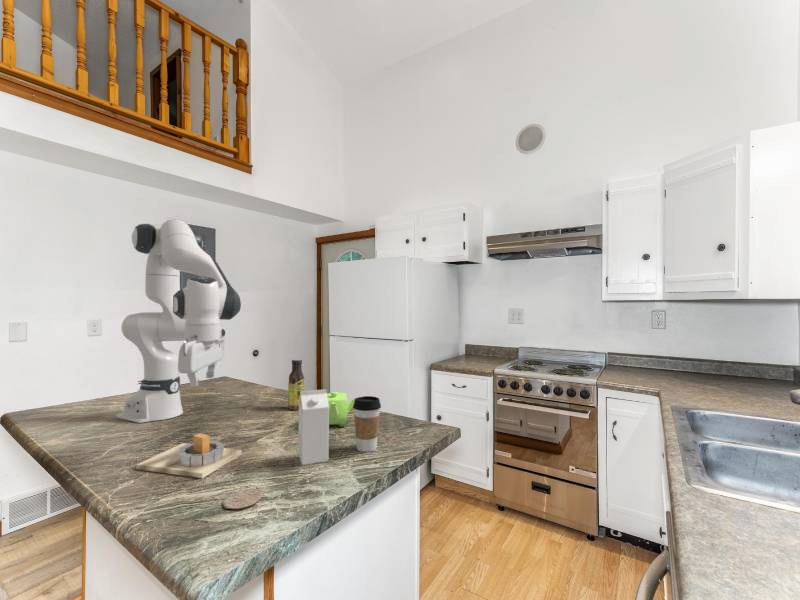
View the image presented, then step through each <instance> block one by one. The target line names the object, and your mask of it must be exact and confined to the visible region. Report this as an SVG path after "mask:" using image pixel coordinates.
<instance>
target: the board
mask: <svg viewBox="0 0 800 600" xmlns="http://www.w3.org/2000/svg"><path fill="white" fill-rule="evenodd" d="M189 444H190V443H184V442H182V443H180V444H178V445H176V446H174V447H171V448H169V449H168V450H165V451H162V452H160V453H158V454H156V455H154V456H152V457H150V458H148V459H145V460H143V461H142V462H139V463H137V464H136V470H139V471H146V472H147V471H148V472H155V473H162V474H168V475H169V474H170V475H175V476H183V477H189V478H190V477H191V478H196V479H197V478H198V479H204V478H205V477H206V476H208V475H210V474H211V473H214V472H215V471H217V470H219V469H220V468H221V467H223V466H224V465H227V464H228V463H229V462H231V461H234V460H235V459H236V458H238V457H239V456H241V455H242V449H236V448H228V447H227V448H226V447H224V454H223V457H222V458H221V459H219V460H218V461H216V462H214V463H211V464H207V465H204V466H203V465H202V466H197V467H185V466H180V465H179V464H178V463H177V452H178V451H179V449H181V448H182V447H184V446H186V445H189Z"/></svg>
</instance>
